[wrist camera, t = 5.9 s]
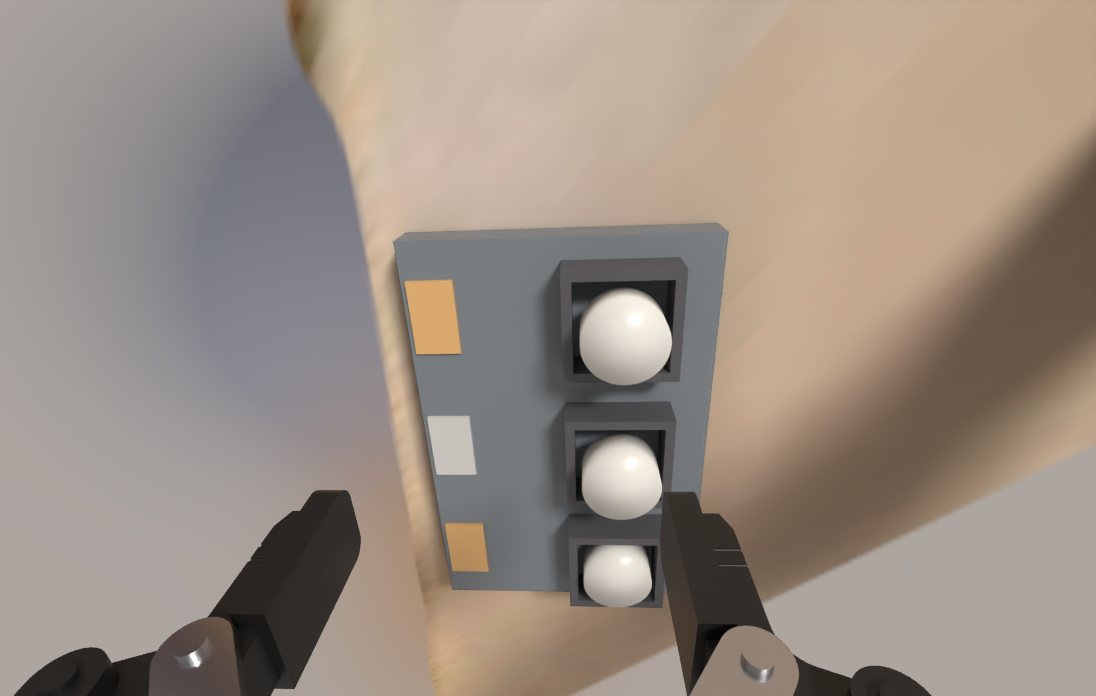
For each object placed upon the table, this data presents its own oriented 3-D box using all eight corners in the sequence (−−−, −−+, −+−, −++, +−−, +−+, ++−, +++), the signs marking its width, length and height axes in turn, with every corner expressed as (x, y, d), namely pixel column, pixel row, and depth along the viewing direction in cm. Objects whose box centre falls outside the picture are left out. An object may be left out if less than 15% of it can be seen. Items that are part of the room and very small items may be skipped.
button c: (649, 533, 31) (653, 559, 29) (646, 580, 32) (650, 608, 31) (582, 532, 31) (583, 558, 29) (583, 579, 33) (584, 607, 31)
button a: (667, 286, 23) (674, 300, 21) (662, 364, 25) (669, 384, 23) (579, 288, 23) (579, 302, 21) (580, 365, 25) (580, 385, 23)
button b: (658, 433, 26) (664, 457, 25) (654, 493, 28) (659, 520, 26) (581, 433, 27) (581, 457, 25) (582, 493, 28) (582, 519, 26)
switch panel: (717, 223, 25) (741, 241, 22) (683, 568, 35) (695, 621, 32) (405, 232, 26) (378, 251, 23) (458, 566, 36) (445, 615, 33)
